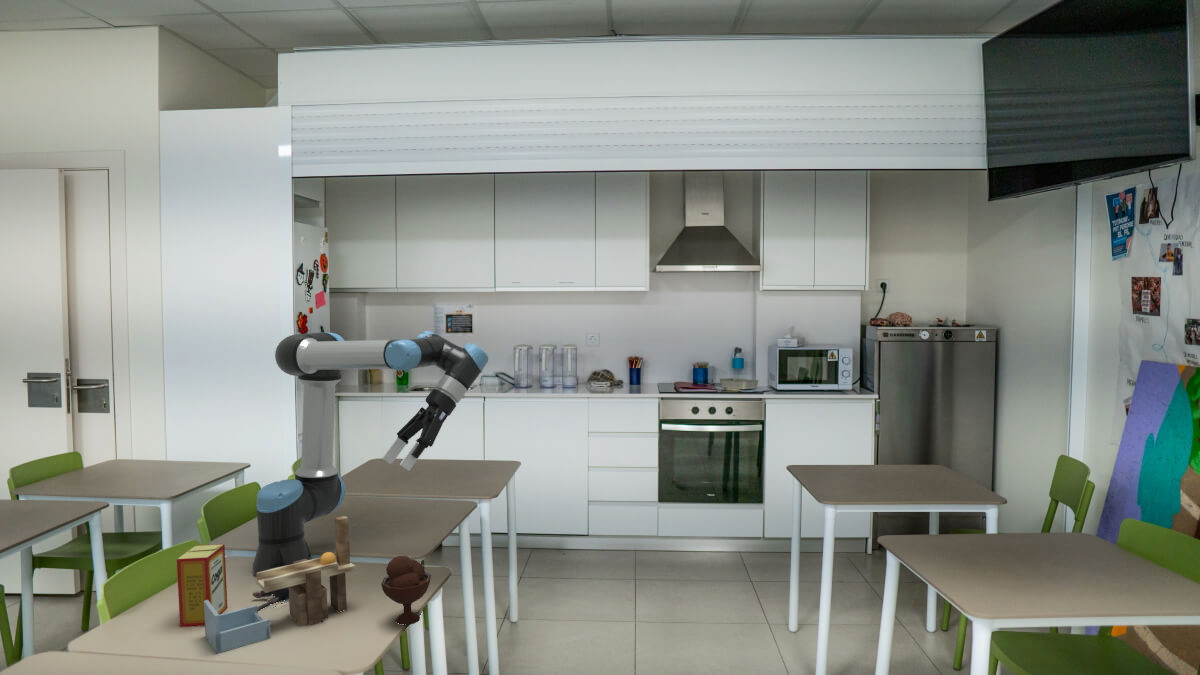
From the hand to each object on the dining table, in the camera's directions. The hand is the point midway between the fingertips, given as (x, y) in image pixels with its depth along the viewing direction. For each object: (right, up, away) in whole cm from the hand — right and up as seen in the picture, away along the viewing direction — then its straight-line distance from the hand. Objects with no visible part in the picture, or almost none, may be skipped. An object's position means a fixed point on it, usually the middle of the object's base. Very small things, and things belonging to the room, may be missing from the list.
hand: (395, 464), depth 180 cm
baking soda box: (-41, -34, -11) cm, 55 cm away
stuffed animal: (-29, -34, -1) cm, 44 cm away
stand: (-15, -33, -11) cm, 38 cm away
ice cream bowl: (+7, -33, -15) cm, 37 cm away
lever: (-17, -23, -13) cm, 31 cm away
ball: (-13, -21, -10) cm, 26 cm away
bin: (-28, -34, -22) cm, 49 cm away
